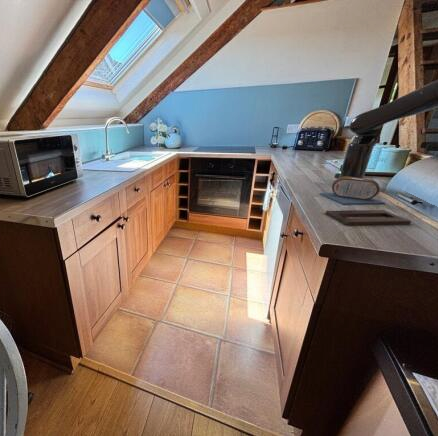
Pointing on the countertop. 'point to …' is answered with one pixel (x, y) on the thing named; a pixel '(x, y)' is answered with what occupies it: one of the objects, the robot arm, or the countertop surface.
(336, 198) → the mat
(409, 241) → the countertop surface
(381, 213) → the stand
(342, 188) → the tin
